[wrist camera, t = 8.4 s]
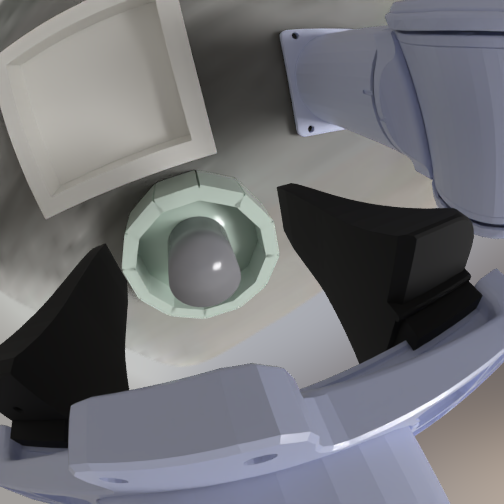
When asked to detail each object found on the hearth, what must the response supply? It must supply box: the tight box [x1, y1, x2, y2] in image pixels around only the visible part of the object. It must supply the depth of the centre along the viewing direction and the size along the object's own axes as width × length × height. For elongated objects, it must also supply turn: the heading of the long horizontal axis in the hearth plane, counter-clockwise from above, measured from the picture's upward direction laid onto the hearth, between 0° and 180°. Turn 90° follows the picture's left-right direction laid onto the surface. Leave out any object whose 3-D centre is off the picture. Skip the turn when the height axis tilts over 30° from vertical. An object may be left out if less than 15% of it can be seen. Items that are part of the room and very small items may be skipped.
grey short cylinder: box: [168, 216, 241, 307], centre depth 19 cm, size 5×5×4 cm
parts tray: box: [0, 0, 217, 219], centre depth 13 cm, size 12×12×3 cm
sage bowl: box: [122, 170, 279, 319], centre depth 21 cm, size 11×11×3 cm
